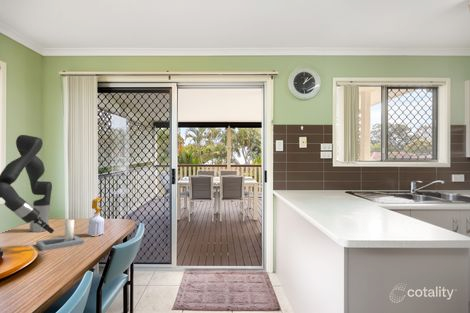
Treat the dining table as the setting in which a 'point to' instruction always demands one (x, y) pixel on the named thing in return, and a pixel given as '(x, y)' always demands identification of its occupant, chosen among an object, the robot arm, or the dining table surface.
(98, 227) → the soap bottle
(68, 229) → the cream rounded cylinder
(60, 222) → the dining table surface
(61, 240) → the rectangular recess board
